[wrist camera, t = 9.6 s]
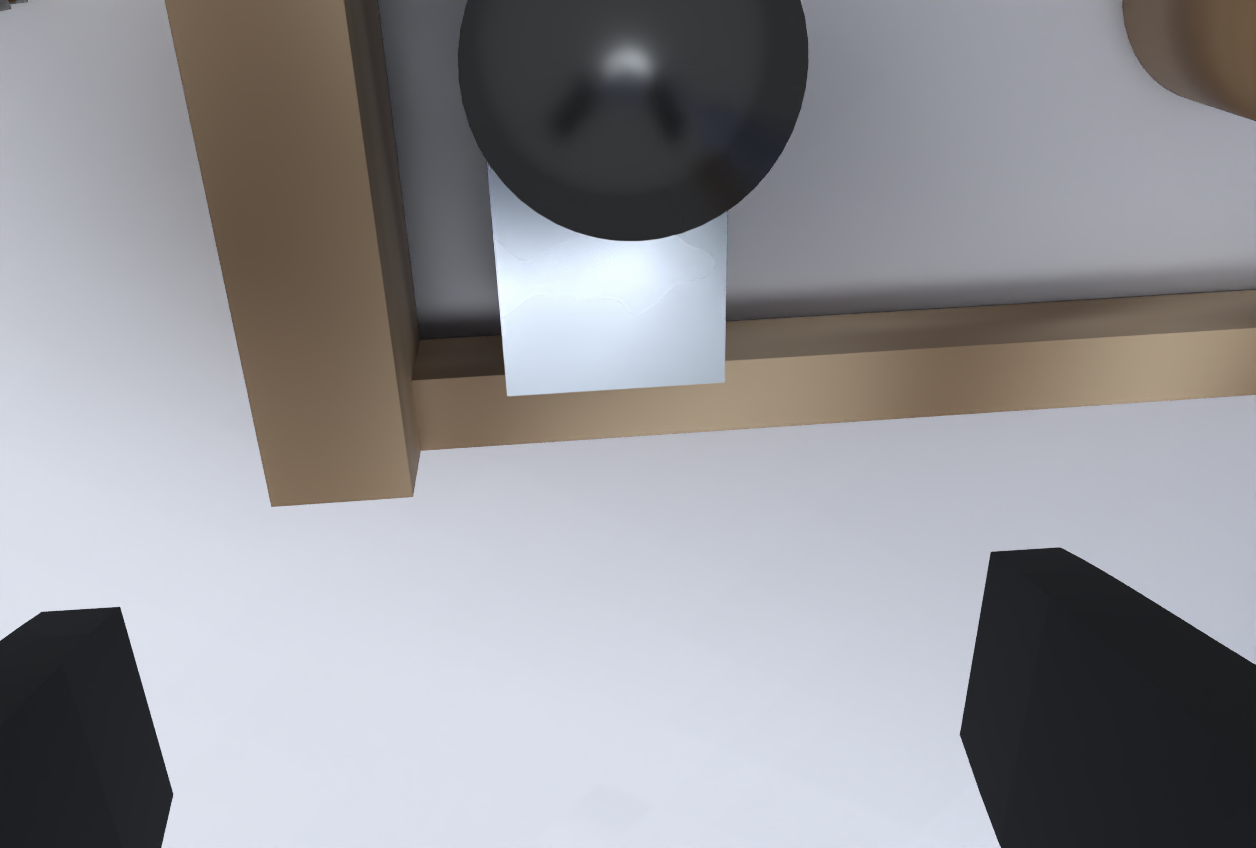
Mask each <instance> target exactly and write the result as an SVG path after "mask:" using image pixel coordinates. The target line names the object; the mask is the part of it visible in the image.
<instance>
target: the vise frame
mask: <svg viewBox="0 0 1256 848" xmlns="http://www.w3.org/2000/svg"><path fill="white" fill-rule="evenodd" d="M165 4H166V9H167V14H168V18H169V23H170V28H171V33H172V37H173V42H174V47H175V51H176V56H177V61H178V66H179V70H180V75H181V80H182V85H183V89H184V94H185V99H186V104H187V108H188V113H189V118H190V123H191V127H192V132H193V137H194V142H195V146H196V151H197V156H198V161H199V165H200V170H201V175H202V180H203V184H204V189H205V194H206V199H207V203H208V208H209V213H210V218H211V222H212V227H213V232H214V237H215V241H216V246H217V251H218V256H219V260H220V265H221V270H222V274H223V279H224V284H225V289H226V293H227V298H228V303H229V308H230V312H231V317H232V322H233V327H234V331H235V336H236V341H237V346H238V350H239V355H240V360H241V365H242V369H243V374H244V379H245V384H246V388H247V393H248V398H249V403H250V407H251V412H252V417H253V422H254V426H255V431H256V436H257V441H258V445H259V450H260V455H261V460H262V464H263V469H264V474H265V479H266V483H267V488H268V493H269V497H270V502H271V507H275V506H290V505H304V504H318V503H333V502H347V501H361V500H376V499H390V498H404V497H413V493H414V487H415V481H416V475H417V469H418V463H419V457H420V451H422V450H437V449H452V448H467V447H481V446H496V445H511V444H526V443H541V442H556V441H571V440H586V439H601V438H616V437H631V436H646V435H661V434H676V433H691V432H705V431H720V430H735V429H750V428H765V427H780V426H795V425H810V424H825V423H840V422H855V421H870V420H885V419H900V418H915V417H930V416H944V415H959V414H974V413H989V412H1004V411H1019V410H1034V409H1049V408H1064V407H1079V406H1094V405H1109V404H1124V403H1139V402H1154V401H1168V400H1183V399H1198V398H1213V397H1228V396H1243V395H1256V290H1243V291H1226V292H1210V293H1193V294H1176V295H1159V296H1143V297H1126V298H1109V299H1093V300H1076V301H1059V302H1042V303H1026V304H1009V305H992V306H976V307H959V308H942V309H925V310H909V311H892V312H875V313H859V314H842V315H825V316H809V317H792V318H775V319H758V320H742V321H726V328H725V382H724V383H709V384H693V385H677V386H662V387H646V388H630V389H615V390H599V391H583V392H568V393H552V394H536V395H521V396H507V388H506V376H505V365H504V353H503V342H502V335H491V336H474V337H458V338H441V339H424V340H420V336H419V328H418V320H417V312H416V304H415V296H414V288H413V280H412V272H411V264H410V256H409V248H408V241H407V233H406V225H405V217H404V209H403V201H402V193H401V185H400V177H399V169H398V161H397V153H396V145H395V137H394V129H393V121H392V113H391V105H390V97H389V89H388V81H387V73H386V65H385V57H384V49H383V41H382V33H381V25H380V17H379V10H378V2H377V0H165Z"/></svg>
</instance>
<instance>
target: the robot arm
mask: <svg viewBox="0 0 1256 848" xmlns="http://www.w3.org/2000/svg"><path fill="white" fill-rule="evenodd" d="M960 736H961V739H962V742H963V745H964V748H965V751H966V754H967V757H968V759H969V762H970V765H971V768H972V771H973V774H974V777H975V780H976V783H977V786H978V788H979V791H980V794H981V797H982V800H983V802H984V805H985V807H986V810H987V813H988V815H989V818H990V821H991V823H992V826H993V829H994V831H995V834H996V837H997V839H998V842H999V844H1000V846H1001V848H1256V665H1255V664H1253V663H1252V662H1250V661H1248V660H1247V659H1245V658H1243V657H1242V656H1240V655H1239V654H1237V653H1235V652H1234V651H1232V650H1230V649H1229V648H1227V647H1226V646H1224V645H1222V644H1221V643H1219V642H1218V641H1216V640H1214V639H1213V638H1211V637H1209V636H1208V635H1206V634H1205V633H1203V632H1201V631H1200V630H1198V629H1197V628H1195V627H1193V626H1192V625H1190V624H1189V623H1187V622H1185V621H1184V620H1182V619H1181V618H1179V617H1177V616H1176V615H1174V614H1172V613H1171V612H1169V611H1168V610H1166V609H1164V608H1163V607H1161V606H1160V605H1158V604H1156V603H1155V602H1153V601H1152V600H1150V599H1148V598H1147V597H1145V596H1143V595H1142V594H1140V593H1139V592H1137V591H1135V590H1134V589H1132V588H1130V587H1129V586H1127V585H1125V584H1124V583H1122V582H1121V581H1119V580H1117V579H1116V578H1114V577H1112V576H1111V575H1109V574H1107V573H1106V572H1104V571H1102V570H1100V569H1099V568H1097V567H1095V566H1094V565H1092V564H1090V563H1088V562H1087V561H1085V560H1083V559H1081V558H1079V557H1077V556H1076V555H1074V554H1072V553H1070V552H1068V551H1066V550H1064V549H1062V548H1044V549H1028V550H1013V551H997V552H991V554H990V560H989V566H988V572H987V578H986V584H985V590H984V595H983V601H982V607H981V613H980V619H979V625H978V631H977V637H976V643H975V649H974V654H973V660H972V666H971V672H970V678H969V684H968V690H967V696H966V702H965V708H964V713H963V719H962V725H961V731H960ZM172 798H173V792H172V788H171V785H170V781H169V778H168V774H167V771H166V767H165V764H164V760H163V757H162V753H161V749H160V746H159V742H158V739H157V735H156V732H155V728H154V725H153V721H152V718H151V714H150V711H149V707H148V704H147V700H146V697H145V693H144V690H143V686H142V682H141V679H140V675H139V672H138V668H137V665H136V661H135V658H134V654H133V651H132V647H131V644H130V640H129V637H128V633H127V630H126V626H125V623H124V619H123V615H122V612H121V608H120V607H112V608H96V609H80V610H64V611H48V612H41V613H40V614H38V615H37V616H35V617H34V618H32V619H31V620H29V621H28V622H26V623H25V624H23V625H22V626H20V627H19V628H17V629H16V630H15V631H13V632H12V633H10V634H9V635H8V636H6V637H5V638H4V639H2V640H1V641H0V848H161V846H162V842H163V837H164V833H165V828H166V824H167V820H168V815H169V811H170V806H171V802H172Z"/></svg>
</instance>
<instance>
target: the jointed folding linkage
mask: <svg viewBox="0 0 1256 848" xmlns="http://www.w3.org/2000/svg"><path fill="white" fill-rule="evenodd" d="M24 2H28V0H0V11H4V10H8V9H11V6H10V4H16V3H24Z"/></svg>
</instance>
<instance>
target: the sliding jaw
mask: <svg viewBox="0 0 1256 848" xmlns="http://www.w3.org/2000/svg"><path fill="white" fill-rule="evenodd" d="M458 68H459V83H460V89H461V96H462V102H463V106H464V109H465V113H466V116H467V119H468V123H469V126H470V128H471V131H472V133H473V135H474V138H475V140H476V142H477V144H478V147H479V148H480V150H481V152H482V153H483V155H484V157H485V158H486V160H487V170H488V182H489V193H490V204H491V216H492V227H493V239H494V250H495V262H496V273H497V285H498V296H499V308H500V319H501V330H502V342H503V353H504V365H505V376H506V388H507V396H521V395H536V394H552V393H568V392H583V391H599V390H615V389H630V388H646V387H662V386H677V385H693V384H709V383H724V382H725V328H726V266H727V211H728V210H729V209H730V208H732V207H733V206H735V205H736V204H738V203H739V202H740V201H741V200H742V199H743V198H744V197H745V196H746V195H748V194H749V193H750V192H751V191H752V190H753V189H754V188H755V187H756V186H757V185H758V184H759V182H760V181H761V180H762V179H763V178H764V177H765V176H766V174H767V173H768V172H769V171H770V169H771V168H772V166H773V165H774V163H775V162H776V160H777V159H778V157H779V156H780V155H781V153H782V151H783V149H784V147H785V145H786V143H787V141H788V140H789V138H790V136H791V134H792V132H793V129H794V126H795V123H796V121H797V118H798V115H799V112H800V109H801V105H802V101H803V97H804V92H805V88H806V80H807V71H808V37H807V30H806V23H805V16H804V12H803V9H802V5H801V1H800V0H468V2H467V4H466V8H465V12H464V17H463V21H462V26H461V30H460V40H459V50H458Z"/></svg>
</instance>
